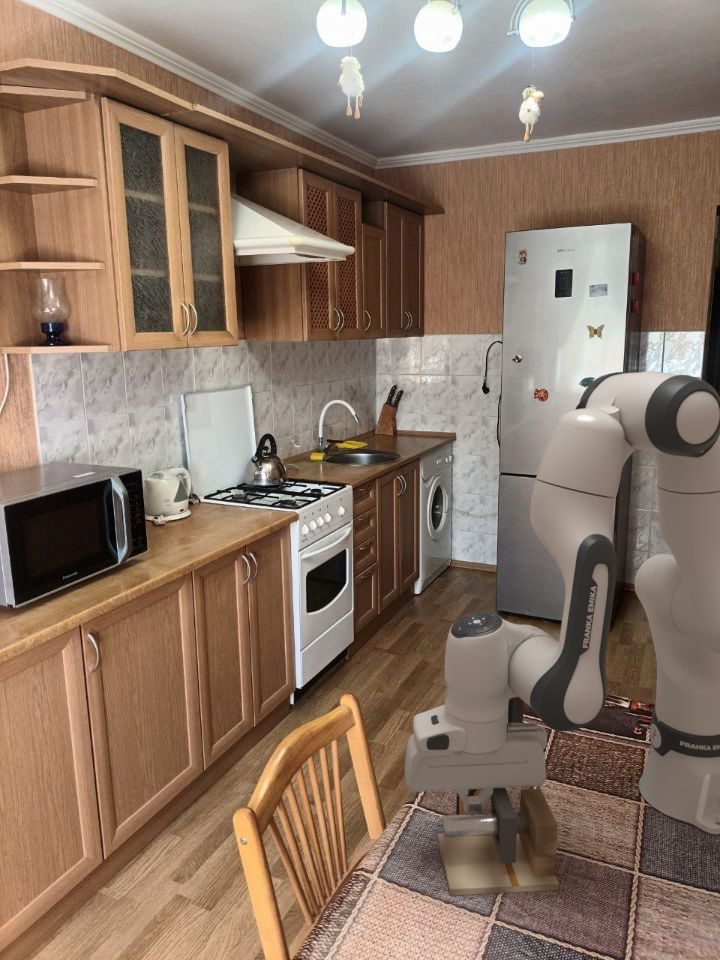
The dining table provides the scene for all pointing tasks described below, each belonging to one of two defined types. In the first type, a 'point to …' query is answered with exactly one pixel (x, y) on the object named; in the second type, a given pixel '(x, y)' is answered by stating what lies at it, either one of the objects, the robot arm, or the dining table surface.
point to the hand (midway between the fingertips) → (474, 810)
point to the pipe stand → (479, 864)
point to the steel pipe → (480, 824)
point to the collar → (505, 825)
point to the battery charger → (515, 710)
